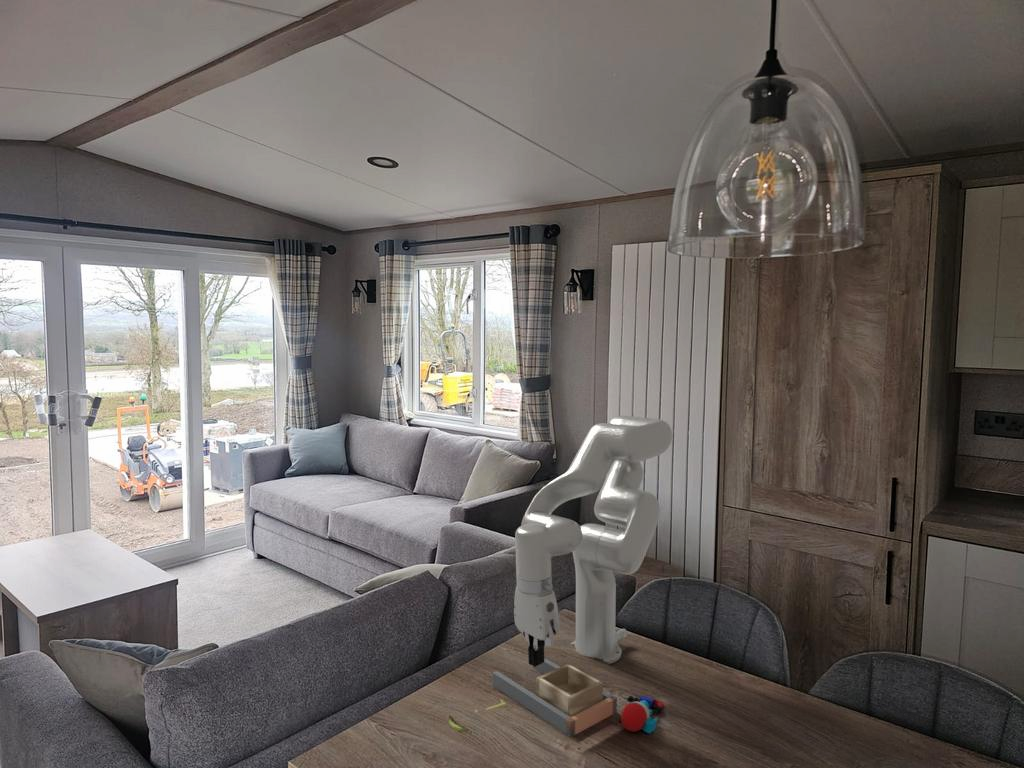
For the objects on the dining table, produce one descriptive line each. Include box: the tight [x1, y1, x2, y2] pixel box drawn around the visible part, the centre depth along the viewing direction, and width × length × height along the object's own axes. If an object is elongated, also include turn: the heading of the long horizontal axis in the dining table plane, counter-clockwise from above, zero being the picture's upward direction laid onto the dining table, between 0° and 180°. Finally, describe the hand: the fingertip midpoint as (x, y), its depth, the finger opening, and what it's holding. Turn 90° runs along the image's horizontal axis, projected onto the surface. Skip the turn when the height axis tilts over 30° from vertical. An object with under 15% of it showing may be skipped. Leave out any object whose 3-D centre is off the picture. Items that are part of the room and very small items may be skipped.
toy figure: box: [621, 695, 664, 734], centre depth 136 cm, size 8×5×15 cm
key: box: [447, 699, 508, 733], centre depth 137 cm, size 7×12×2 cm, turn 132°
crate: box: [535, 663, 604, 717], centre depth 137 cm, size 10×9×6 cm
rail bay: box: [492, 657, 618, 738], centre depth 141 cm, size 24×13×4 cm, turn 40°
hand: (536, 663), depth 147 cm, fingers closed
